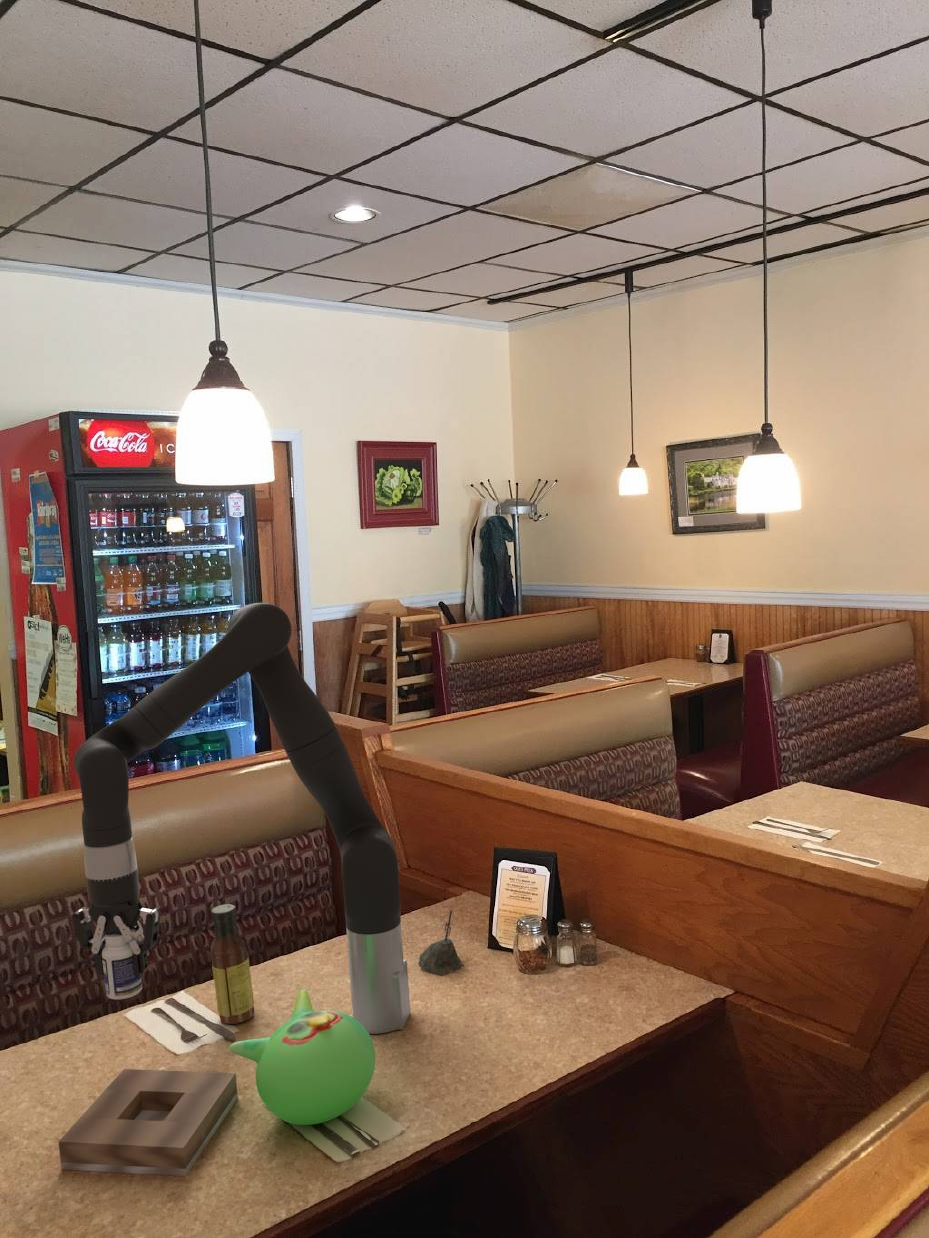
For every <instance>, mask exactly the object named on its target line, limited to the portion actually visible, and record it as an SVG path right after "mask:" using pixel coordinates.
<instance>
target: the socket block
mask: <svg viewBox="0 0 929 1238" xmlns="http://www.w3.org/2000/svg"><path fill="white" fill-rule="evenodd" d="M238 1094H239V1093H238V1084H237V1074H236V1072H216V1071H190V1070H188V1071H186V1070H161V1069H159V1070H158V1069H137V1068H134V1069H131V1068H124V1069H123V1070H121V1072H119V1074H118V1075H117V1076H116V1077H115V1078H114V1079H113V1081H112V1082H111V1083H110V1084H109V1085H108V1086H107V1087H106V1088H105V1089H104V1090H103V1091H102V1093H100V1095H99V1096H98V1097H97V1098H96V1100H95V1101H94V1102H93V1103H92V1104H91V1105H90V1106H89V1107H88V1109H86V1111H84V1113H83V1114H82V1115H81V1116H80V1117H79V1118H78V1120H77V1121H76V1122H75V1123H74V1124H73V1125H72V1126H71V1127H70V1128H69V1129H68V1131H66V1133H65V1134H64V1135H63V1136H62V1137H61V1138H60V1139H59V1140H58V1148H59V1149H58V1150H59V1158H60V1167H61V1170H65V1171H85V1172H87V1171H89V1172H104V1173H106V1172H107V1173H120V1174H121V1173H125V1174H137V1175H138V1174H140V1175H141V1174H142V1175H158V1176H159V1175H160V1176H179V1177H187V1176H188V1175H189V1173H190V1171H191V1170H192V1168H193V1167H194V1165H195V1163H196V1162H197V1160H198V1159H199V1158H200V1156H201V1155H202V1153H203V1151H204V1150H205V1148H206V1147H207V1145H209V1142H210V1141H211V1139H212V1138H213V1137H214V1135H215V1134H216V1132H217V1130H218V1129H219V1128H220V1126H221V1124H222V1123H223V1121H224V1120H225V1119H226V1117H227V1115H228V1114H229V1112H230V1111H231V1110H232V1108H233V1106H234V1105H235V1103H236V1102H237V1101H238V1099H239V1098H238V1097H239V1096H238Z"/></svg>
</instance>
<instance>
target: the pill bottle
mask: <svg viewBox="0 0 929 1238" xmlns="http://www.w3.org/2000/svg"><path fill="white" fill-rule="evenodd" d="M132 932H133V929H132V930H131V933H132ZM105 942H106V947H105V948H104V949H103V951H102V961H103V970H104V976H103V979H104V987H105V989H104V990H105V994H106V997H107V998H108V999H111V1000H125V999H128V998H132V997H134V996H136V995H138V994H139V993H140V992H141V991H142V989H143V981H142V980H143V979H142V976H141V977H136V976H135V971H134V962H133V954H134V952H133V950H132V948H131V946H130V944H129V943H128V942H126V941H125V939H124V937H123V935H118V934H111V935H106V934H105Z"/></svg>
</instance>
